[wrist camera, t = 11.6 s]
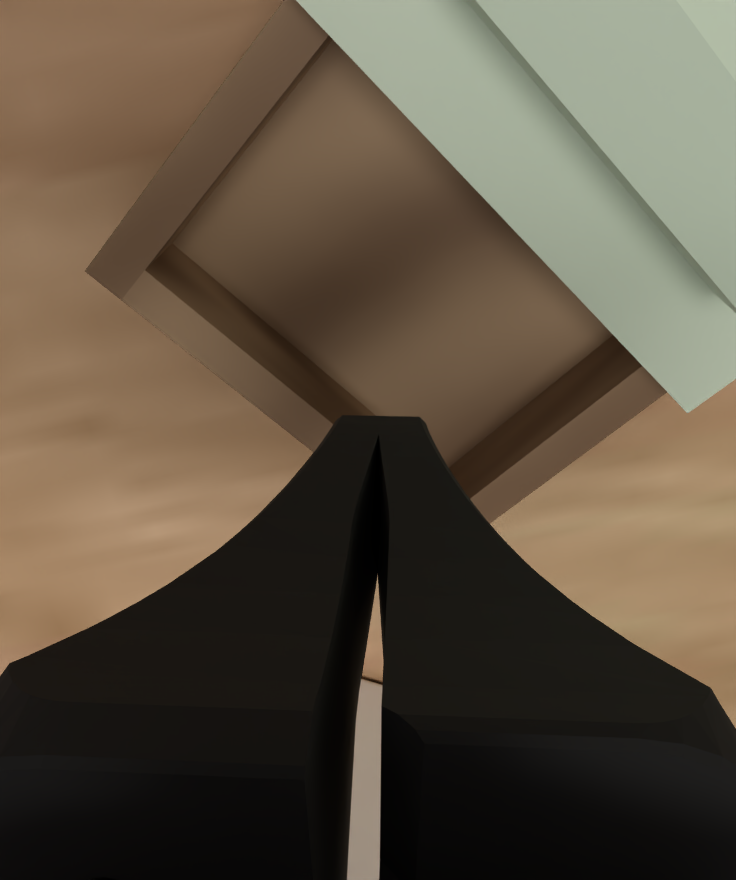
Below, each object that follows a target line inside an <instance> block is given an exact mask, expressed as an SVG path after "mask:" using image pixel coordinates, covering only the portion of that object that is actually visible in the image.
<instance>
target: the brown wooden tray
mask: <svg viewBox="0 0 736 880" xmlns="http://www.w3.org/2000/svg"><path fill="white" fill-rule="evenodd" d="M85 272H86V273H88V274H89V275H90V276H92V277H93V278H94V279H95V280H97V281H98V282H99V283H100V284H102V285H103V286H104V287H105V288H107V289H108V290H109V291H110V292H112V293H113V294H114V295H116V296H117V297H118V298H119V299H121V300H122V301H123V302H124V303H126V304H127V305H128V306H129V307H131V308H132V309H133V310H135V311H136V312H137V313H138V314H140V315H141V316H142V317H143V318H145V319H146V320H147V321H148V322H150V323H151V324H152V325H153V326H155V327H156V328H157V329H159V330H160V331H161V332H162V333H164V334H165V335H166V336H167V337H169V338H170V339H171V340H172V341H174V342H175V343H176V344H177V345H179V346H180V347H181V348H183V349H184V350H185V351H186V352H188V353H189V354H190V355H191V356H193V357H194V358H195V359H196V360H198V361H199V362H200V363H201V364H203V365H204V366H205V367H207V368H208V369H209V370H210V371H212V372H213V373H214V374H215V375H217V376H218V377H219V378H220V379H222V380H223V381H224V382H226V383H227V384H228V385H229V386H231V387H232V388H233V389H234V390H236V391H237V392H238V393H239V394H241V395H242V396H243V397H244V398H246V399H247V400H248V401H250V402H251V403H252V404H253V405H255V406H256V407H257V408H258V409H260V410H261V411H262V412H263V413H265V414H266V415H267V416H268V417H270V418H271V419H272V420H274V421H275V422H276V423H277V424H279V425H280V426H281V427H282V428H284V429H285V430H286V431H287V432H289V433H290V434H291V435H293V436H294V437H295V438H296V439H298V440H299V441H300V442H301V443H303V444H304V445H305V446H306V447H308V448H309V449H310V450H311V451H313V452H314V451H315V450H316V449H317V447H318V446H319V445H320V443H321V442H322V441H323V439H324V438H325V436H326V435H327V433H328V432H329V430H330V429H331V427H332V426H333V424H334V422H335V421H336V420H337V419H338V418H340V417H341V416H342V415H362V416H412V417H420V418H421V419H422V420H423V421H424V422H425V423H426V424H427V427H428V430H429V432H430V435H431V437H432V439H433V441H434V443H435V445H436V447H437V449H438V450H439V452H440V454H441V456H442V458H443V459H444V461H445V463H446V464H447V466H448V468H449V469H450V471H451V472H452V474H453V475H454V477H455V478H456V480H457V481H458V483H459V484H460V486H461V487H462V489H463V490H464V492H465V493H466V494H467V496H468V497H469V498H470V500H471V501H472V502H473V504H474V505H475V506H476V508H477V509H478V510H479V511H480V513H481V514H482V515H483V516H484V518H485V519H486V520H487V521H488V523H489V524H490V523H491V522H492V521H494V520H495V519H496V518H498V517H499V516H501V515H502V514H503V513H505V512H506V511H507V510H509V509H510V508H511V507H513V506H514V505H515V504H517V503H518V502H519V501H521V500H522V499H523V498H525V497H526V496H528V495H529V494H530V493H532V492H533V491H534V490H536V489H537V488H538V487H540V486H541V485H542V484H544V483H545V482H546V481H548V480H549V479H550V478H552V477H553V476H555V475H556V474H557V473H559V472H560V471H561V470H563V469H564V468H565V467H567V466H568V465H569V464H571V463H572V462H573V461H575V460H576V459H577V458H579V457H580V456H582V455H583V454H584V453H586V452H587V451H588V450H590V449H591V448H592V447H594V446H595V445H596V444H598V443H599V442H600V441H602V440H603V439H604V438H606V437H607V436H609V435H610V434H611V433H613V432H614V431H615V430H617V429H618V428H619V427H621V426H622V425H623V424H625V423H626V422H627V421H629V420H630V419H631V418H633V417H634V416H636V415H637V414H638V413H640V412H641V411H642V410H644V409H645V408H646V407H648V406H649V405H650V404H652V403H653V402H654V401H656V400H657V399H658V398H660V397H661V396H663V395H664V394H665V393H667V391H666V390H665V389H664V388H663V387H662V386H661V385H660V384H659V383H658V382H657V381H656V380H655V378H654V377H653V376H652V375H651V374H650V373H649V372H648V371H647V370H646V369H645V368H644V367H643V366H642V365H641V364H640V363H639V362H638V361H637V359H636V358H635V357H634V356H633V355H632V354H631V353H630V352H629V351H628V350H627V349H626V348H625V347H624V346H623V345H622V344H621V343H620V342H619V341H618V339H617V338H616V337H615V336H614V335H613V334H612V333H611V332H610V331H609V330H608V329H607V328H606V327H605V326H604V325H603V324H602V323H601V322H600V320H599V319H598V318H597V317H596V316H595V315H594V314H593V313H592V312H591V311H590V310H589V309H588V308H587V307H586V306H585V305H584V304H583V303H582V301H581V300H580V299H579V298H578V297H577V296H576V295H575V294H574V293H573V292H572V291H571V290H570V289H569V288H568V287H567V286H566V285H565V284H564V283H563V281H562V280H561V279H560V278H559V277H558V276H557V275H556V274H555V273H554V272H553V271H552V270H551V269H550V268H549V267H548V266H547V265H546V264H545V262H544V261H543V260H542V259H541V258H540V257H539V256H538V255H537V254H536V253H535V252H534V251H533V250H532V249H531V248H530V247H529V246H528V245H527V243H526V242H525V241H524V240H523V239H522V238H521V237H520V236H519V235H518V234H517V233H516V232H515V231H514V230H513V229H512V228H511V227H510V226H509V225H508V223H507V222H506V221H505V220H504V219H503V218H502V217H501V216H500V215H499V214H498V213H497V212H496V211H495V210H494V209H493V208H492V207H491V206H490V204H489V203H488V202H487V201H486V200H485V199H484V198H483V197H482V196H481V195H480V194H479V193H478V192H477V191H476V190H475V189H474V188H473V187H472V185H471V184H470V183H469V182H468V181H467V180H466V179H465V178H464V177H463V176H462V175H461V174H460V173H459V172H458V171H457V170H456V169H455V168H454V167H453V165H452V164H451V163H450V162H449V161H448V160H447V159H446V158H445V157H444V156H443V155H442V154H441V153H440V152H439V151H438V150H437V149H436V148H435V146H434V145H433V144H432V143H431V142H430V141H429V140H428V139H427V138H426V137H425V136H424V135H423V134H422V133H421V132H420V131H419V130H418V129H417V127H416V126H415V125H414V124H413V123H412V122H411V121H410V120H409V119H408V118H407V117H406V116H405V115H404V114H403V113H402V112H401V111H400V110H399V109H398V107H397V106H396V105H395V104H394V103H393V102H392V101H391V100H390V99H389V98H388V97H387V96H386V95H385V94H384V93H383V92H382V91H381V90H380V88H379V87H378V86H377V85H376V84H375V83H374V82H373V81H372V80H371V79H370V78H369V77H368V76H367V75H366V74H365V73H364V72H363V71H362V69H361V68H360V67H359V66H358V65H357V64H356V63H355V62H354V61H353V60H352V59H351V58H350V57H349V56H348V55H347V54H346V53H345V52H344V51H343V49H342V48H341V47H340V46H339V45H338V44H337V43H336V42H335V41H334V40H333V39H332V38H331V37H330V36H329V35H328V34H327V33H326V32H325V30H324V29H323V28H322V27H321V26H320V25H319V24H318V23H317V22H316V21H315V20H314V19H313V18H312V17H311V16H310V15H309V14H308V13H307V11H306V10H305V9H304V8H303V7H302V6H301V5H300V4H299V3H298V2H297V1H296V0H284V1H283V2H282V4H281V5H280V6H279V8H278V9H277V10H276V12H275V13H274V14H273V16H272V17H271V19H270V20H269V21H268V23H267V24H266V25H265V27H264V28H263V29H262V31H261V32H260V34H259V35H258V36H257V38H256V39H255V40H254V42H253V43H252V44H251V46H250V47H249V48H248V50H247V51H246V53H245V54H244V55H243V57H242V58H241V59H240V61H239V62H238V63H237V65H236V66H235V68H234V69H233V70H232V72H231V73H230V74H229V76H228V77H227V78H226V80H225V81H224V82H223V84H222V85H221V87H220V88H219V89H218V91H217V92H216V93H215V95H214V96H213V97H212V99H211V100H210V102H209V103H208V104H207V106H206V107H205V108H204V110H203V111H202V112H201V114H200V115H199V117H198V118H197V119H196V121H195V122H194V123H193V125H192V126H191V127H190V129H189V130H188V131H187V133H186V134H185V136H184V137H183V138H182V140H181V141H180V142H179V144H178V145H177V146H176V148H175V149H174V151H173V152H172V153H171V155H170V156H169V157H168V159H167V160H166V161H165V163H164V164H163V165H162V167H161V168H160V170H159V171H158V172H157V174H156V175H155V176H154V178H153V179H152V180H151V182H150V183H149V185H148V186H147V187H146V189H145V190H144V191H143V193H142V194H141V195H140V197H139V198H138V200H137V201H136V202H135V204H134V205H133V206H132V208H131V209H130V210H129V212H128V213H127V214H126V216H125V217H124V219H123V220H122V221H121V223H120V224H119V225H118V227H117V228H116V229H115V231H114V232H113V234H112V235H111V236H110V238H109V239H108V240H107V242H106V243H105V244H104V246H103V247H102V248H101V250H100V251H99V253H98V254H97V255H96V257H95V258H94V259H93V261H92V262H91V263H90V265H89V266H88V268H87V269H86V270H85Z"/></svg>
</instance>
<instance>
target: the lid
mask: <svg viewBox="0 0 736 880" xmlns="http://www.w3.org/2000/svg"><path fill="white" fill-rule="evenodd" d="M296 1H297V2H298V3H299V4H300V5H301V6H302V7H303V8H304V9H305V10H306V11H307V13H308V14H309V15H310V16H311V17H312V18H313V19H314V20H315V21H316V22H317V23H318V24H319V25H320V26H321V27H322V28H323V29H324V30H325V32H326V33H327V34H328V35H329V36H330V37H331V38H332V39H333V40H334V41H335V42H336V43H337V44H338V45H339V46H340V47H341V48H342V49H343V51H344V52H345V53H346V54H347V55H348V56H349V57H350V58H351V59H352V60H353V61H354V62H355V63H356V64H357V65H358V66H359V67H360V68H361V69H362V71H363V72H364V73H365V74H366V75H367V76H368V77H369V78H370V79H371V80H372V81H373V82H374V83H375V84H376V85H377V86H378V87H379V88H380V90H381V91H382V92H383V93H384V94H385V95H386V96H387V97H388V98H389V99H390V100H391V101H392V102H393V103H394V104H395V105H396V106H397V107H398V109H399V110H400V111H401V112H402V113H403V114H404V115H405V116H406V117H407V118H408V119H409V120H410V121H411V122H412V123H413V124H414V125H415V126H416V127H417V129H418V130H419V131H420V132H421V133H422V134H423V135H424V136H425V137H426V138H427V139H428V140H429V141H430V142H431V143H432V144H433V145H434V146H435V148H436V149H437V150H438V151H439V152H440V153H441V154H442V155H443V156H444V157H445V158H446V159H447V160H448V161H449V162H450V163H451V164H452V165H453V167H454V168H455V169H456V170H457V171H458V172H459V173H460V174H461V175H462V176H463V177H464V178H465V179H466V180H467V181H468V182H469V183H470V184H471V185H472V187H473V188H474V189H475V190H476V191H477V192H478V193H479V194H480V195H481V196H482V197H483V198H484V199H485V200H486V201H487V202H488V203H489V204H490V206H491V207H492V208H493V209H494V210H495V211H496V212H497V213H498V214H499V215H500V216H501V217H502V218H503V219H504V220H505V221H506V222H507V223H508V225H509V226H510V227H511V228H512V229H513V230H514V231H515V232H516V233H517V234H518V235H519V236H520V237H521V238H522V239H523V240H524V241H525V242H526V243H527V245H528V246H529V247H530V248H531V249H532V250H533V251H534V252H535V253H536V254H537V255H538V256H539V257H540V258H541V259H542V260H543V261H544V262H545V264H546V265H547V266H548V267H549V268H550V269H551V270H552V271H553V272H554V273H555V274H556V275H557V276H558V277H559V278H560V279H561V280H562V281H563V283H564V284H565V285H566V286H567V287H568V288H569V289H570V290H571V291H572V292H573V293H574V294H575V295H576V296H577V297H578V298H579V299H580V300H581V301H582V303H583V304H584V305H585V306H586V307H587V308H588V309H589V310H590V311H591V312H592V313H593V314H594V315H595V316H596V317H597V318H598V319H599V320H600V322H601V323H602V324H603V325H604V326H605V327H606V328H607V329H608V330H609V331H610V332H611V333H612V334H613V335H614V336H615V337H616V338H617V339H618V341H619V342H620V343H621V344H622V345H623V346H624V347H625V348H626V349H627V350H628V351H629V352H630V353H631V354H632V355H633V356H634V357H635V358H636V359H637V361H638V362H639V363H640V364H641V365H642V366H643V367H644V368H645V369H646V370H647V371H648V372H649V373H650V374H651V375H652V376H653V377H654V378H655V380H656V381H657V382H658V383H659V384H660V385H661V386H662V387H663V388H664V389H665V390H666V391H667V392H668V393H669V394H670V395H671V396H672V397H673V399H674V400H675V401H676V402H677V403H678V404H679V405H680V406H681V407H682V408H683V409H684V410H685V411H686V412H687V413H689V412H690V411H692V410H693V409H694V408H696V407H697V406H699V405H700V404H701V403H703V402H704V401H706V400H707V399H708V398H710V397H711V396H713V395H714V394H715V393H717V392H718V391H720V390H721V389H722V388H724V387H725V386H726V385H728V384H729V383H731V382H732V381H733V380H735V379H736V0H296Z"/></svg>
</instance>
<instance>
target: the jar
mask: <svg viewBox="0 0 736 880" xmlns="http://www.w3.org/2000/svg"><path fill="white" fill-rule="evenodd" d="M382 686H383V685H381V684H378V683H374V682H371V681H368V680H364V679H361V684H360V690H359V698H358V707H357V716H356V728H355V745H354V762H353V779H352V797H351V815H350V833H349V851H348V870H347V880H379V869H380V794H381V704H382Z"/></svg>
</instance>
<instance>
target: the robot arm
mask: <svg viewBox="0 0 736 880" xmlns="http://www.w3.org/2000/svg"><path fill="white" fill-rule="evenodd" d="M377 575H378V584H379V599H380V614H381V629H382V644H383V659H384V666H383V686H382V704H381V794H380V869H379V880H736V729H735V727H734V725H733V724H732V722H731V721H730V719H729V717H728V716H727V714H726V713H725V711H724V709H723V708H722V706H721V705H720V703H719V701H718V700H717V698H716V696H715V694H714V693H713V691H712V689H711V688H710V687H708V686H706V685H705V684H703V683H701V682H699V681H698V680H696V679H694V678H692V677H691V676H689V675H687V674H685V673H684V672H682V671H680V670H678V669H677V668H675V667H673V666H671V665H670V664H668V663H666V662H664V661H663V660H661V659H659V658H657V657H656V656H654V655H652V654H650V653H648V652H647V651H645V650H643V649H641V648H640V647H638V646H636V645H635V644H633V643H632V642H630V641H628V640H627V639H625V638H624V637H622V636H621V635H619V634H618V633H616V632H615V631H614V630H612V629H611V628H609V627H608V626H606V625H605V624H603V623H602V622H600V621H599V620H597V619H596V618H594V617H593V616H591V615H590V614H589V613H587V612H586V611H585V610H583V609H582V608H580V607H579V606H578V605H576V604H575V603H574V602H572V601H571V600H570V599H569V598H567V597H566V596H565V595H564V594H562V593H561V592H560V591H559V590H558V589H556V588H555V587H554V586H553V585H551V584H550V583H549V582H548V581H547V580H545V579H544V578H543V577H542V576H540V575H539V574H538V573H537V572H536V571H535V570H534V569H532V568H531V567H530V566H529V565H528V564H527V563H526V562H525V561H524V560H523V559H522V558H521V557H520V556H519V555H518V554H517V553H516V552H515V551H514V550H513V549H512V548H511V547H510V546H509V545H508V544H507V543H506V542H505V541H504V540H503V538H502V537H501V536H500V535H499V534H498V533H497V532H496V531H495V529H494V528H493V527H492V526H491V525H490V524H489V523H488V521H487V520H486V519H485V518H484V516H483V515H482V514H481V513H480V511H479V510H478V509H477V508H476V506H475V505H474V504H473V502H472V501H471V500H470V498H469V497H468V496H467V494H466V493H465V492H464V490H463V489H462V487H461V486H460V484H459V483H458V481H457V480H456V478H455V477H454V475H453V474H452V472H451V471H450V469H449V468H448V466H447V464H446V463H445V461H444V459H443V458H442V456H441V454H440V452H439V450H438V449H437V447H436V445H435V443H434V441H433V439H432V437H431V435H430V432H429V430H428V427H427V424H426V423H425V422H424V421H423V420H422V419H421V418H420V417H412V416H362V415H342V416H341V417H340V418H338V419H337V420H336V421H335V422H334V424H333V426H332V427H331V429H330V430H329V432H328V433H327V435H326V436H325V438H324V439H323V441H322V442H321V443H320V445H319V446H318V447H317V449H316V450H315V451H314V453H313V454H312V455H311V457H310V458H309V459H308V460H307V462H306V463H305V464H304V465H303V466H302V468H301V469H300V470H299V471H298V472H297V474H296V475H295V476H294V477H293V478H292V480H291V481H290V482H289V483H288V484H287V485H286V486H285V487H284V488H283V490H282V491H281V492H280V493H279V494H278V495H277V496H276V497H275V498H274V499H273V500H272V501H271V502H270V503H269V504H268V505H267V506H266V507H265V508H264V509H263V510H262V511H261V512H260V513H259V514H258V515H257V516H256V517H255V518H254V519H253V520H252V521H251V522H250V523H249V524H248V525H246V526H245V527H244V528H243V529H242V530H241V531H240V532H239V533H237V534H236V535H235V536H234V537H233V538H231V539H230V540H229V541H228V542H227V543H225V544H224V545H223V546H222V547H221V548H219V549H218V550H217V551H216V552H214V553H213V554H211V555H210V556H208V557H207V558H206V559H204V560H203V561H201V562H200V563H198V564H197V565H195V566H194V567H192V568H191V569H190V570H188V571H187V572H185V573H184V574H182V575H181V576H179V577H178V578H176V579H175V580H174V581H172V582H171V583H169V584H167V585H166V586H164V587H163V588H161V589H159V590H158V591H156V592H154V593H152V594H151V595H149V596H147V597H146V598H144V599H142V600H141V601H139V602H137V603H135V604H133V605H132V606H130V607H128V608H126V609H124V610H122V611H121V612H119V613H117V614H115V615H113V616H111V617H110V618H108V619H106V620H104V621H102V622H100V623H98V624H96V625H94V626H92V627H90V628H88V629H86V630H83V631H81V632H79V633H77V634H75V635H72V636H70V637H68V638H66V639H64V640H61V641H59V642H57V643H55V644H53V645H50V646H48V647H46V648H44V649H42V650H39V651H37V652H35V653H33V654H31V655H29V656H26V657H24V658H21V659H19V660H16V661H14V662H12V663H10V664H9V665H8V666H7V668H6V669H5V670H4V672H3V673H2V675H1V676H0V880H347V870H348V851H349V833H350V815H351V797H352V779H353V762H354V745H355V728H356V716H357V707H358V698H359V690H360V684H361V677H362V671H363V665H364V658H365V652H366V645H367V639H368V633H369V626H370V620H371V614H372V607H373V601H374V594H375V588H376V581H377Z"/></svg>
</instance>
